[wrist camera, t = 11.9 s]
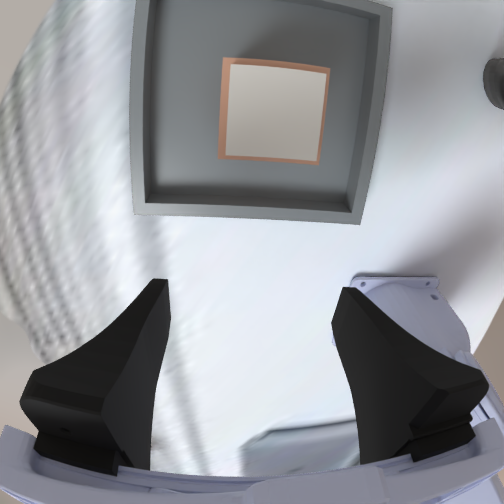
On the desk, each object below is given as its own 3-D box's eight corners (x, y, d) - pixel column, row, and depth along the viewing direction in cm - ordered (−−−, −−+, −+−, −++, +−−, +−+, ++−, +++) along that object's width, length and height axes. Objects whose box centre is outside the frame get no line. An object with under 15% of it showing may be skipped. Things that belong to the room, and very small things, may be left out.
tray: (375, 14, 15) (392, 8, 13) (348, 210, 22) (360, 224, 20) (149, -8, 13) (138, -18, 11) (143, 200, 21) (133, 215, 19)
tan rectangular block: (293, 73, 16) (335, 67, 10) (287, 134, 18) (322, 169, 12) (226, 67, 16) (222, 55, 9) (222, 131, 18) (217, 162, 11)
